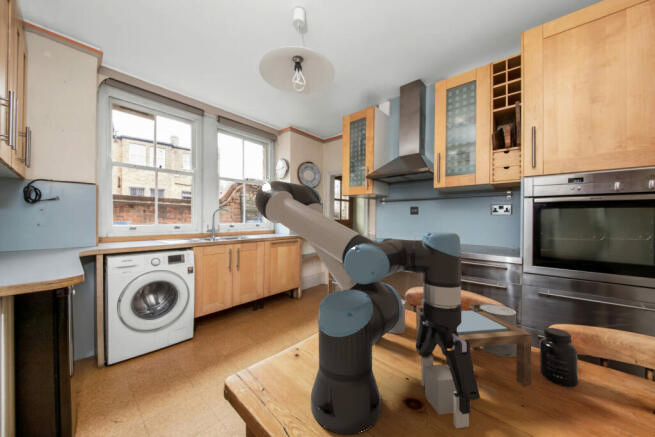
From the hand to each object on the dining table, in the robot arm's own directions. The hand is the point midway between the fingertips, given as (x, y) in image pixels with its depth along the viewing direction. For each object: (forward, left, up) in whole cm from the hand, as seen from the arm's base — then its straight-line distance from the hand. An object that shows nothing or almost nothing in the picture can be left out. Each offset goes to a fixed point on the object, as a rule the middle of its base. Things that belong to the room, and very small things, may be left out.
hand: (442, 403), depth 52 cm
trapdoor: (+15, +16, +10) cm, 24 cm away
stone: (0, 0, 0) cm, 0 cm away
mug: (+5, +37, 0) cm, 37 cm away
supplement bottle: (+34, +3, 0) cm, 34 cm away
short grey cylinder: (+31, +18, 0) cm, 36 cm away
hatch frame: (+15, +11, 0) cm, 19 cm away
